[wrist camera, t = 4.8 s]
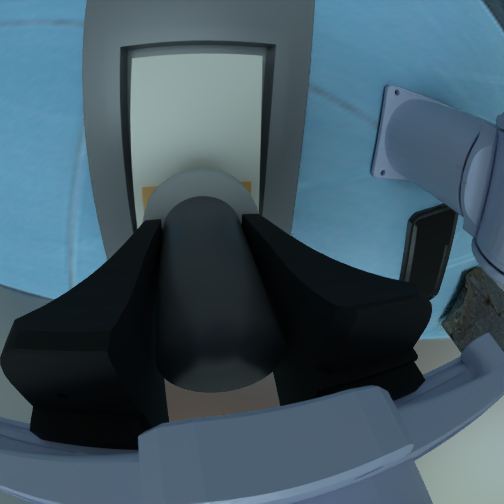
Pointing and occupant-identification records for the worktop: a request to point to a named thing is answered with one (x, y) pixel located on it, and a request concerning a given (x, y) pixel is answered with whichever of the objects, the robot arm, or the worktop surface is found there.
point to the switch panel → (193, 42)
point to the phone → (428, 248)
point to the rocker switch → (194, 119)
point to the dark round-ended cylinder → (210, 286)
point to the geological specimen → (476, 311)
